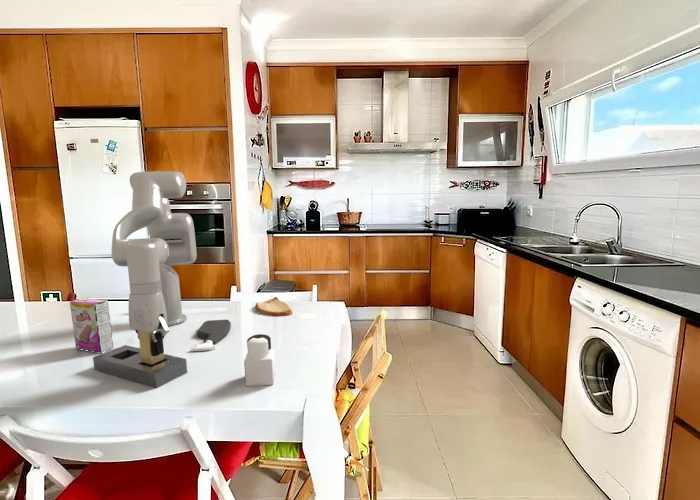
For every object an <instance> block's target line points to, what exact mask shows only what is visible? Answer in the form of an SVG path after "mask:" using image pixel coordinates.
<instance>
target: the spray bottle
mask: <svg viewBox="0 0 700 500" xmlns="http://www.w3.org/2000/svg"><path fill="white" fill-rule="evenodd" d="M231 326H232V323H231V321H230V320H229V319H211V320H205V321H204V322H203V323H202V324H201V325H200V327H199V328H198V330H197V331H196V335H197V337H198V338H200V339H202V340H203V339H204V341H203V343H201V344H199V343H195V346H194V347H190V352H202V351H212V350H215V349H216V345H215V344H217V343H219V342H221V341H222V340H223V339H225V338H226V337H227V336H228V334H229V333H230V331H231Z"/></svg>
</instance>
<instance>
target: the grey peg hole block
mask: <svg viewBox="0 0 700 500" xmlns="http://www.w3.org/2000/svg"><path fill="white" fill-rule="evenodd" d="M92 362H93V370H94V371H95V370H97V371H96V372H98V371H100V372H99V373H102V372H103V373H102V374H105V373H106V375H110V376H112V377H116V378H118V379H119V378H120V379H123V380H127V381H130V382H133V383H137V384H141V385H144V386H147V387H151V388H154V389H158V388H160V387H162V386H164V385H165V384H168V383H170V382H172V381H174V380H176V379H177V378H180V377H181V376H183V375H185V374H187V373H188V366H187V359H186V358H183V357H179V356H175V355H170V354H166V353H164V359H163V360H161V361H159V362H157V363H154V364H152V365H151V364H147V363H143V362H142V360H141V351H140V347H135V346H130V345H127V344H126V345H125V344H124V345H122V346H119V347H116V348H113V349H110V350H108V351H106V352H104V353H99V354H98V355H95V356H93V357H92Z"/></svg>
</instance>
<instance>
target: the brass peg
mask: <svg viewBox="0 0 700 500" xmlns="http://www.w3.org/2000/svg"><path fill="white" fill-rule="evenodd" d="M138 331H139V330H138ZM158 333H159V332H156V335H157V334H158ZM138 340H139V348H140V350H141V360H142V362H143V363H147V364H151V365H152V364H154V363H157V362H159V361H161V360H163V359H164V354H165V352H164V353H162V354H160V355H157V356H153V355H152V345H151V342H153V340H152V335H151V333H149V332H144V331H139V339H138Z"/></svg>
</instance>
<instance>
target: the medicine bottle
mask: <svg viewBox="0 0 700 500" xmlns="http://www.w3.org/2000/svg"><path fill="white" fill-rule="evenodd" d="M246 344H247V346H246V347H247V354H246V356H245V358H244V360H243V363H244V365H243V366H244V379H245V381H244V382H245V386H246V387H256V386H257V387H259V386H262V387H263V386H272V385H274V383H275V378H276V375H277V369H276V366H277V364H276V352H275V351H276V350H275V349H274V348H272V341H271V337H270V336H269V335H267V334H263V333H262V334H261V333H260V334H254V335H251V336H249V337H248V338H247V340H246Z"/></svg>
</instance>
